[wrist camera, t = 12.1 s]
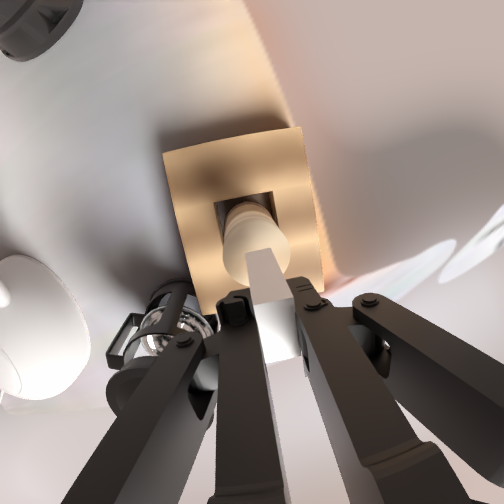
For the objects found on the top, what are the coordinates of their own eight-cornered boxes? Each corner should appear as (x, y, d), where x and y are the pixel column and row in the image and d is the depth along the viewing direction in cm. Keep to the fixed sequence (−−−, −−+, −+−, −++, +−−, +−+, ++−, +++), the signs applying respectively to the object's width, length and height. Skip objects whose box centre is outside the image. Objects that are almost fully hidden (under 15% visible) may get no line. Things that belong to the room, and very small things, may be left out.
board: (170, 154, 30) (162, 153, 26) (292, 131, 30) (301, 126, 26) (205, 300, 35) (202, 315, 32) (315, 278, 35) (324, 290, 32)
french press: (228, 281, 34) (228, 443, 12) (224, 345, 37) (224, 502, 15) (135, 274, 33) (37, 405, 11) (140, 337, 36) (82, 477, 14)
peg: (221, 202, 32) (213, 227, 19) (263, 193, 32) (286, 213, 19) (229, 243, 33) (228, 294, 20) (271, 235, 34) (297, 281, 20)
